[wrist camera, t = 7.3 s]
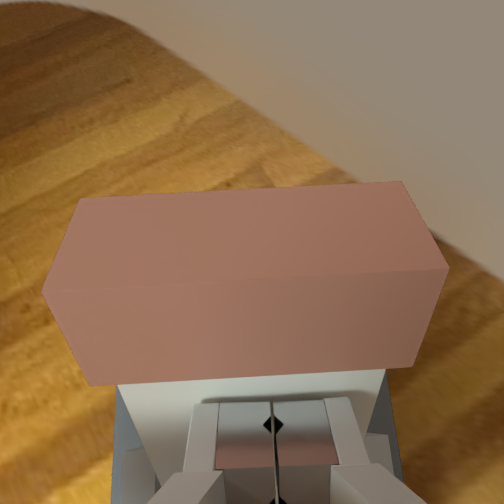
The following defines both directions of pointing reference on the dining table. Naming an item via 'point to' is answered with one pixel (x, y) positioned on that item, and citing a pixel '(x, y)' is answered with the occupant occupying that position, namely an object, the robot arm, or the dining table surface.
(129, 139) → the dining table surface
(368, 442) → the switch panel
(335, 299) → the lever
